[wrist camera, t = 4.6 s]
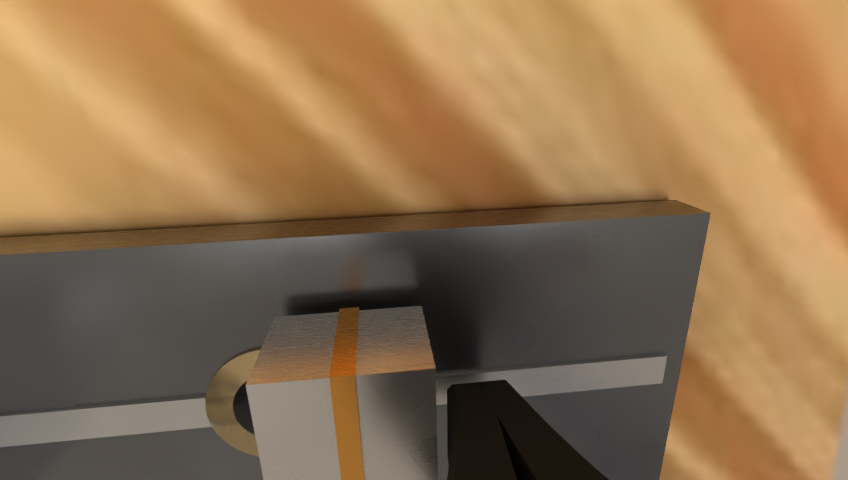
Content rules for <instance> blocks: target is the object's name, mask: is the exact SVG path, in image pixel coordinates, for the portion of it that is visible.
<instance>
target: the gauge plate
mask: <svg viewBox="0 0 848 480" xmlns="http://www.w3.org/2000/svg"><path fill="white" fill-rule="evenodd" d="M709 218H710V213H709V212H706V211H703V210H701V209H698V208H695V207H693V206H690V205H687V204H685V203H682V202H679V201H677V200H670V201H652V202H634V203H616V204H598V205H580V206H562V207H544V208H526V209H508V210H490V211H472V212H454V213H436V214H418V215H400V216H382V217H364V218H346V219H328V220H310V221H292V222H274V223H256V224H238V225H220V226H202V227H184V228H166V229H148V230H130V231H112V232H94V233H77V234H59V235H41V236H23V237H5V238H0V480H263V474H262V469H261V464H260V459H259V453H258V448H257V443H256V438H255V432H254V427H253V422H252V417H251V411H250V406H249V401H248V395H247V390H246V383H247V381H248V378H249V376H250V374H251V371H252V369H253V367H254V364H255V362H256V360H257V357H258V355H259V353H260V350H261V348H262V346H263V343H264V341H265V339H266V336H267V334H268V332H269V329H270V327H271V324H272V322H273V320H274V317H279V316H292V315H305V314H318V313H332V312H339V309H341V308H354V307H359V310H372V309H385V308H398V307H412V306H422V310H423V314H424V319H425V323H426V328H427V332H428V337H429V341H430V346H431V350H432V354H433V359H434V363H435V368H436V410H437V457H438V480H447V476H448V469H449V464H448V456H447V389H448V388H449V387H450V386H451V385H452V384H462V383H473V382H484V381H495V380H506V381H507V382H508V383H509V384H510V385H511V386H512V387H513V388H514V389H515V390H516V391H517V392H518V393H519V394H520V395H521V396H522V397H523V398H524V399H525V400H526V401H527V402H528V403H529V404H530V405H531V407H532V408H533V409H534V410H535V411H536V412H537V413H538V414H539V415H540V416H541V417H542V418H543V419H544V420H545V421H546V422H547V423H548V424H549V425H550V426H551V427H552V428H553V429H554V430H555V431H556V432H557V433H558V434H559V435H561V436H562V437H563V438H564V439H565V440H566V441H567V442H568V443H569V444H570V445H571V446H572V447H573V448H574V449H575V450H576V451H577V452H579V453H580V454H581V455H582V456H583V457H584V458H585V459H586V460H587V461H588V462H589V463H591V464H592V465H593V466H594V467H595V468H596V469H597V470H598V471H600V472H601V473H602V474H603V475H604V476H605V477H607V478H608V479H609V480H659V477H660V471H661V466H662V461H663V456H664V451H665V446H666V440H667V435H668V430H669V425H670V420H671V415H672V409H673V404H674V399H675V394H676V389H677V384H678V378H679V373H680V368H681V363H682V358H683V352H684V347H685V342H686V337H687V332H688V327H689V321H690V316H691V311H692V306H693V301H694V296H695V290H696V285H697V280H698V275H699V270H700V265H701V259H702V254H703V249H704V244H705V239H706V233H707V228H708V223H709Z"/></svg>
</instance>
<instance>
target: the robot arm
mask: <svg viewBox="0 0 848 480" xmlns="http://www.w3.org/2000/svg"><path fill="white" fill-rule="evenodd" d="M447 456H448V464H449V469H448V476H447V480H609V479H608V478H607V477H605V476H604V475H603V474H602V473H601V472H600V471H598V470H597V469H596V468H595V467H594V466H593V465H592V464H591V463H589V462H588V461H587V460H586V459H585V458H584V457H583V456H582V455H581V454H580V453H579V452H577V451H576V450H575V449H574V448H573V447H572V446H571V445H570V444H569V443H568V442H567V441H566V440H565V439H564V438H563V437H562V436H561V435H559V434H558V433H557V432H556V431H555V430H554V429H553V428H552V427H551V426H550V425H549V424H548V423H547V422H546V421H545V420H544V419H543V418H542V417H541V416H540V415H539V414H538V413H537V412H536V411H535V410H534V409H533V408H532V407H531V405H530V404H529V403H528V402H527V401H526V400H525V399H524V398H523V397H522V396H521V395H520V394H519V393H518V392H517V391H516V390H515V389H514V388H513V387H512V386H511V385H510V384H509V383H508V382H507V381H506V380H495V381H484V382H473V383H462V384H452V385H451V386H450V387H449V388H448V389H447Z"/></svg>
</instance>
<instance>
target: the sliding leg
mask: <svg viewBox="0 0 848 480" xmlns="http://www.w3.org/2000/svg"><path fill="white" fill-rule="evenodd" d="M246 390H247V395H248V401H249V406H250V411H251V417H252V422H253V427H254V432H255V438H256V443H257V448H258V453H259V459H260V464H261V469H262V474H263V480H438V457H437V410H436V368H435V363H434V359H433V354H432V350H431V346H430V341H429V337H428V332H427V328H426V323H425V319H424V314H423V310H422V306H412V307H398V308H385V309H372V310H359V307H354V308H341V309H339V312H332V313H318V314H305V315H292V316H279V317H274V320H273V322H272V324H271V327H270V329H269V332H268V334H267V336H266V339H265V341H264V343H263V346H262V348H261V350H260V353H259V355H258V357H257V360H256V362H255V364H254V367H253V369H252V371H251V374H250V376H249V378H248V381H247V383H246Z"/></svg>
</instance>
